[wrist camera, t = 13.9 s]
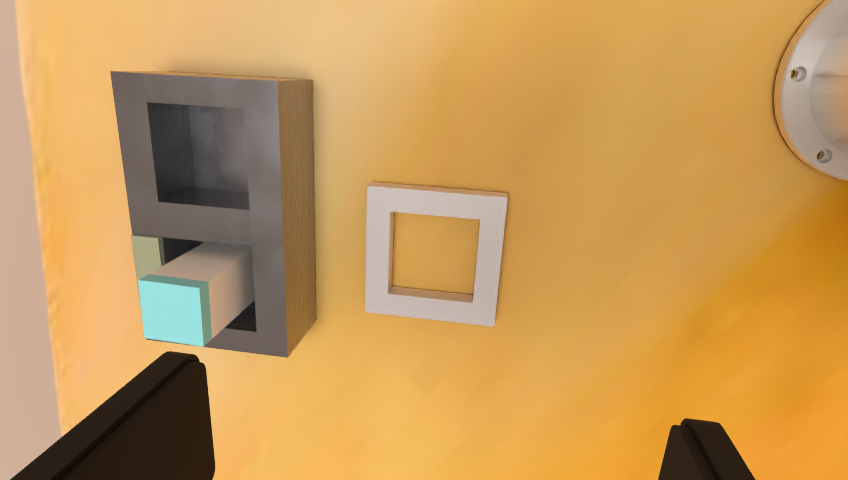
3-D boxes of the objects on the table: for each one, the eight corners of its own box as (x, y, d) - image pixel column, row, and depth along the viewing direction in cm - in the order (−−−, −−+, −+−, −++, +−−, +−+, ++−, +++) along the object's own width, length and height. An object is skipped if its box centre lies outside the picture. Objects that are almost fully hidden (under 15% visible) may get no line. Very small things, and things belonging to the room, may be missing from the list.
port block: (312, 79, 36) (275, 81, 31) (316, 319, 42) (285, 359, 37) (169, 71, 38) (106, 71, 32) (192, 305, 44) (143, 341, 38)
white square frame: (507, 192, 37) (507, 197, 36) (494, 317, 40) (494, 326, 39) (371, 181, 38) (367, 185, 37) (369, 303, 41) (364, 311, 40)
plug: (264, 241, 39) (199, 288, 31) (266, 289, 41) (203, 346, 32) (215, 236, 40) (137, 279, 31) (218, 283, 41) (144, 337, 33)
